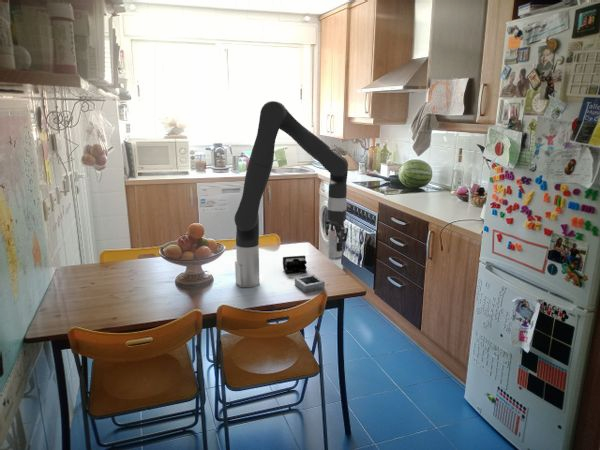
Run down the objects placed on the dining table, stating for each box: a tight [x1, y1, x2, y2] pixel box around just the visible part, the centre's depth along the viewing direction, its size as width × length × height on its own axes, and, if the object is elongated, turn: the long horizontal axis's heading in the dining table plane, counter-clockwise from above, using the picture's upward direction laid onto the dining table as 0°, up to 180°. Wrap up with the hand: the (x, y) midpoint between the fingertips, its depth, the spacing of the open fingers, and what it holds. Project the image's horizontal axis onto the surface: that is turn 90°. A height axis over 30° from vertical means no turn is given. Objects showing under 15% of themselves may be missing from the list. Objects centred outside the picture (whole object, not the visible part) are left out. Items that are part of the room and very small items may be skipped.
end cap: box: [282, 255, 308, 275], centre depth 200 cm, size 10×7×7 cm
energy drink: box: [328, 230, 343, 261], centre depth 178 cm, size 5×5×12 cm
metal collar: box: [294, 274, 326, 294], centre depth 183 cm, size 9×9×3 cm
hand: (335, 248), depth 179 cm, fingers closed on energy drink, 5 cm apart
